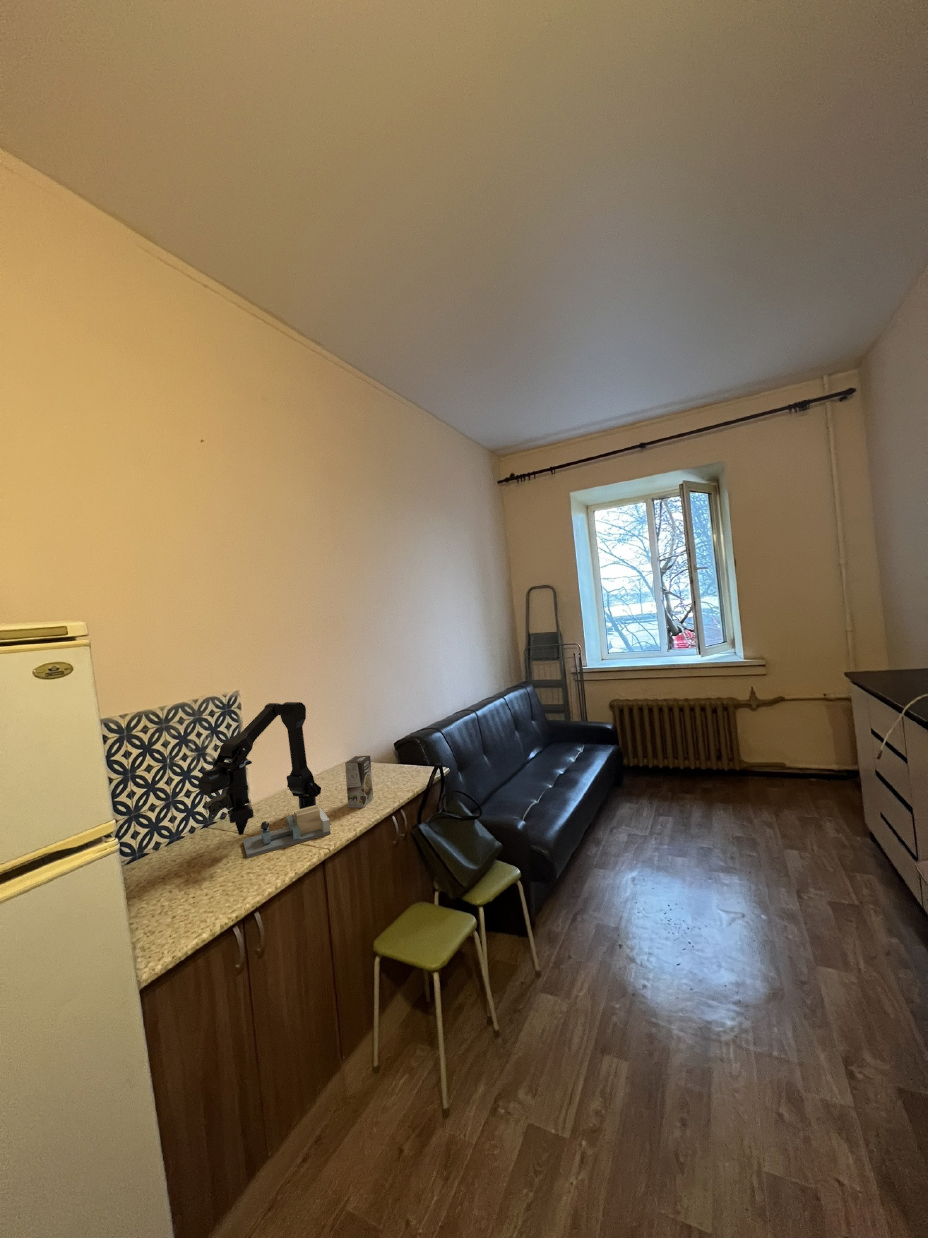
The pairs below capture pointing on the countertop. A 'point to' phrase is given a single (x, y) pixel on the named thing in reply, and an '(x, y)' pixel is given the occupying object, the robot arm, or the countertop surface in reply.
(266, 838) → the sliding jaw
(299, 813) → the oak block
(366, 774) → the coffee box
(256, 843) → the vise bed
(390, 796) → the countertop surface
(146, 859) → the countertop surface
